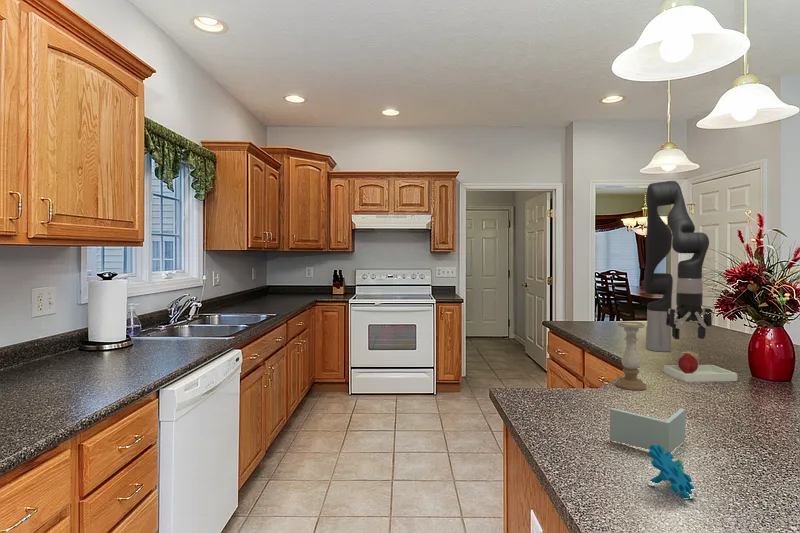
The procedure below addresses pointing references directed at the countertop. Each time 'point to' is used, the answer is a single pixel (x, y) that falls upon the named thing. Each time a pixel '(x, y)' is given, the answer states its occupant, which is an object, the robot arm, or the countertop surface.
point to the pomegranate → (688, 363)
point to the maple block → (692, 355)
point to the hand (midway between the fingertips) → (688, 338)
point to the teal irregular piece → (670, 471)
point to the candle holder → (631, 358)
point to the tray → (701, 374)
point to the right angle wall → (647, 429)
